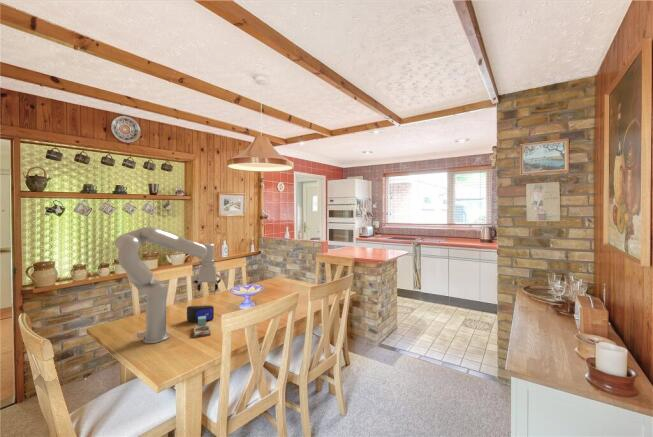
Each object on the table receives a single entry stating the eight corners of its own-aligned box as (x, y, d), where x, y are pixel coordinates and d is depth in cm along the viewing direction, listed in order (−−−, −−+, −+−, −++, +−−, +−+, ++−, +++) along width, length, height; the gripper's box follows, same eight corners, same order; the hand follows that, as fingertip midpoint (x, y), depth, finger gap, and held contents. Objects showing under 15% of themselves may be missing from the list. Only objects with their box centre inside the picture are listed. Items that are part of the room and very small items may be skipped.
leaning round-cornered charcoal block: (184, 323, 180) (184, 308, 180) (187, 320, 185) (187, 305, 185) (212, 322, 183) (212, 307, 182) (214, 319, 187) (213, 304, 187)
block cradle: (193, 337, 160) (193, 333, 160) (193, 331, 168) (193, 327, 168) (210, 335, 164) (210, 330, 164) (210, 329, 172) (210, 324, 172)
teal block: (198, 329, 172) (198, 319, 171) (198, 326, 176) (198, 316, 175) (206, 328, 173) (206, 318, 173) (206, 325, 177) (205, 315, 177)
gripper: (191, 264, 175) (191, 292, 175) (221, 264, 179) (221, 291, 179) (194, 262, 182) (194, 289, 183) (223, 261, 186) (223, 288, 187)
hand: (207, 290), depth 181 cm, fingers open, 9 cm apart
